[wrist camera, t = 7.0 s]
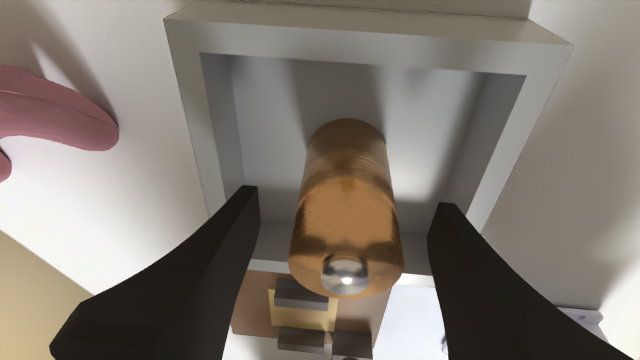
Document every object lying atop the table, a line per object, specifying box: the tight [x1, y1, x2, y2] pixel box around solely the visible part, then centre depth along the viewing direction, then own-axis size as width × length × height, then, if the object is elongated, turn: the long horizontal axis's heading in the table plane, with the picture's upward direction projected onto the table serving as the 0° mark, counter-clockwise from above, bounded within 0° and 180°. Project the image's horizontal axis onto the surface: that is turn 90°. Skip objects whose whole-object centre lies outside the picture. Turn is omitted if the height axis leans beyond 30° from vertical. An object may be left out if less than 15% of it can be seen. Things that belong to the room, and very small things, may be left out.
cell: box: [288, 118, 404, 299], centre depth 14 cm, size 4×4×8 cm
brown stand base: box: [230, 270, 392, 360], centre depth 25 cm, size 12×10×4 cm
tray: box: [163, 0, 574, 288], centre depth 16 cm, size 13×13×4 cm
